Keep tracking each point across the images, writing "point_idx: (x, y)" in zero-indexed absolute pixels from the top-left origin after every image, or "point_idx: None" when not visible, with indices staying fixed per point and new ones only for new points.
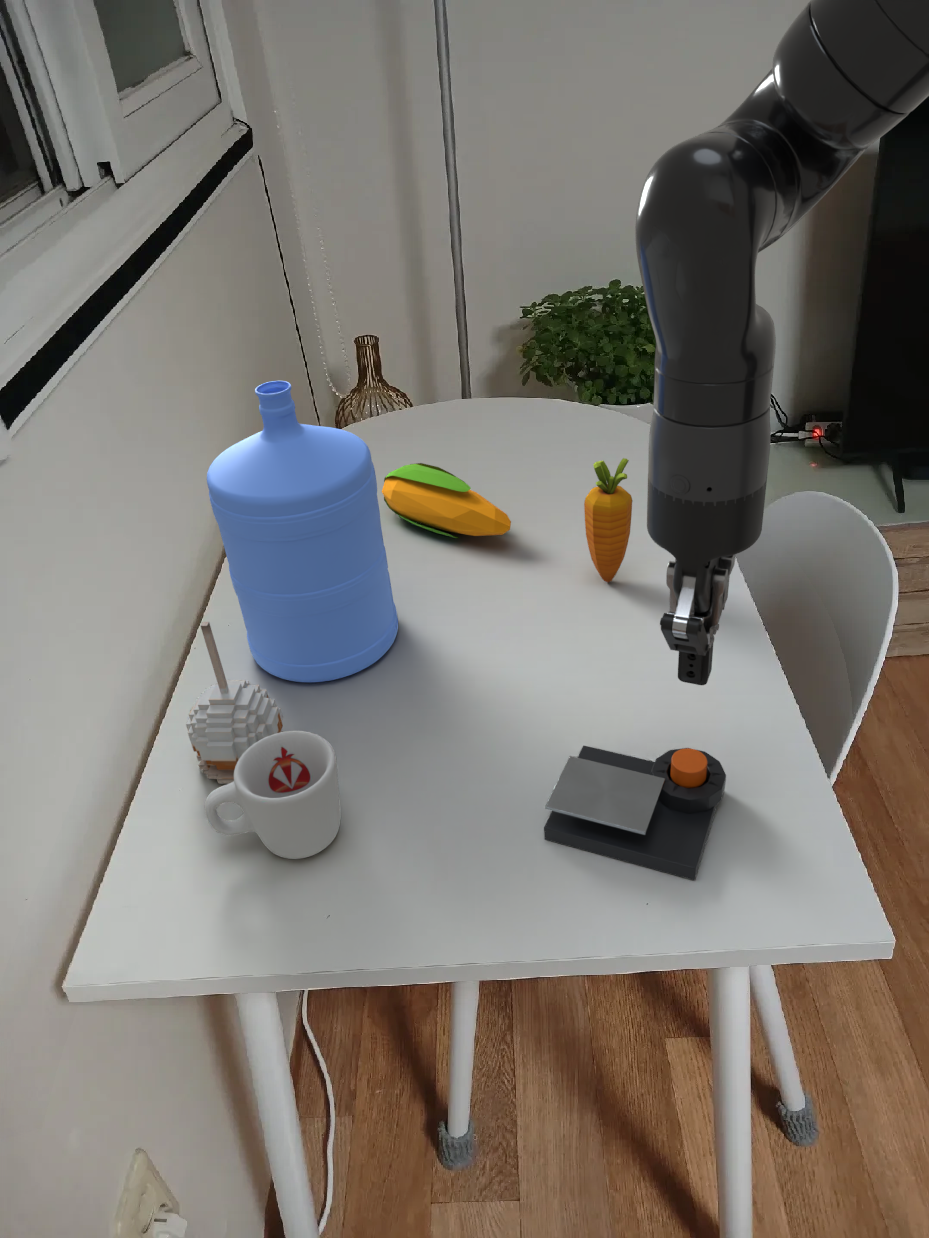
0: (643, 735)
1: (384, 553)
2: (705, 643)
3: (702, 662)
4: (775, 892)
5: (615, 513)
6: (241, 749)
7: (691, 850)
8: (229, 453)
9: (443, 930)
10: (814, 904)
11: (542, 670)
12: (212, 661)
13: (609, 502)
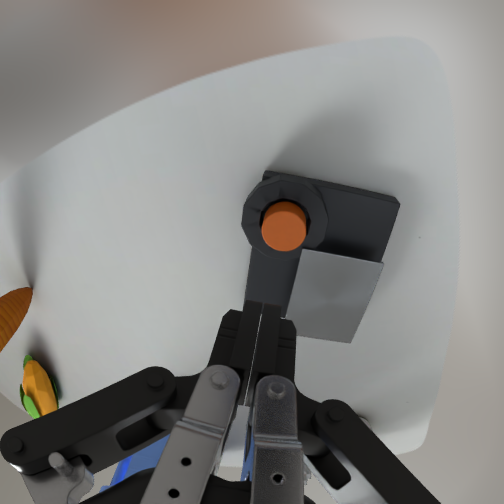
0: (200, 252)
1: (134, 468)
2: (349, 435)
3: (282, 352)
4: (401, 121)
5: None
6: (306, 468)
7: (378, 207)
8: None
9: (427, 356)
10: (410, 85)
11: (145, 333)
12: None
13: None
